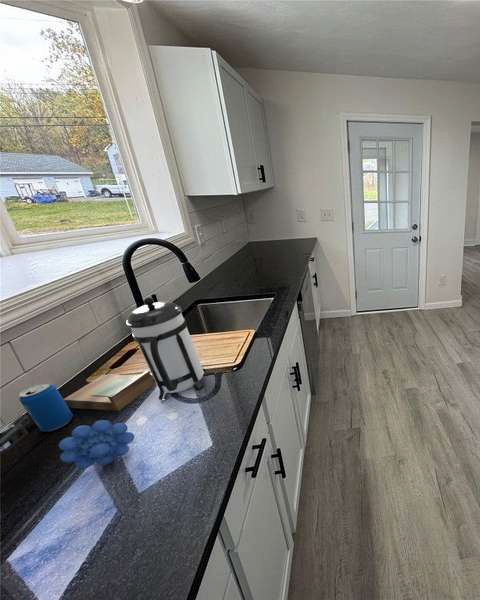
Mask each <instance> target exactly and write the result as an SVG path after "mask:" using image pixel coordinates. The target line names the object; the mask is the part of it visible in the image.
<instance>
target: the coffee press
mask: <svg viewBox="0 0 480 600" xmlns="http://www.w3.org/2000/svg"><path fill="white" fill-rule="evenodd" d="M182 312H183V309H182V307H181V306H179V305H178V304H177V303H175V302H173V301H166V300H163V301H155V300H154V298H152V297H146V298H144V300H143V305H141V306H139V307H137V308H135V309H133V310H132V311H130V313H129V314H128V316H127V318H126V319H127V320H126V321H125V324H126V327H128V328H129V329H130V331H131V333H132V337H133V340H134V341H135V342H136V343H137V345H138V347H139V350H140V352H141V354H142V356H143V358H144V360H145V363H146V364H147V366H148V370H149V372H150V374H151V376H152V378H153V381H154V383H155V384H156V387H157V388H158V389H159V396H158V401H162V402H165V401H167V400H168V397H169V395H170V394H173V393H174V394H175V393H179V392H183V391H186V390H187V389H190V388H194V389H195V390H197V391H201V390H202V389H203V388H204V384H202V383H201V382H200V381H201V380H202V378H203V377H204V374H206V368H203V365H202V363H201V360H200V358H199V355H198V352H197V350H196V348H195V345H194V342H193V340H192V337H191V334H190V331H189V330H188V324H187V322H186V319H185V318H184V316H183V314H182Z"/></svg>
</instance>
